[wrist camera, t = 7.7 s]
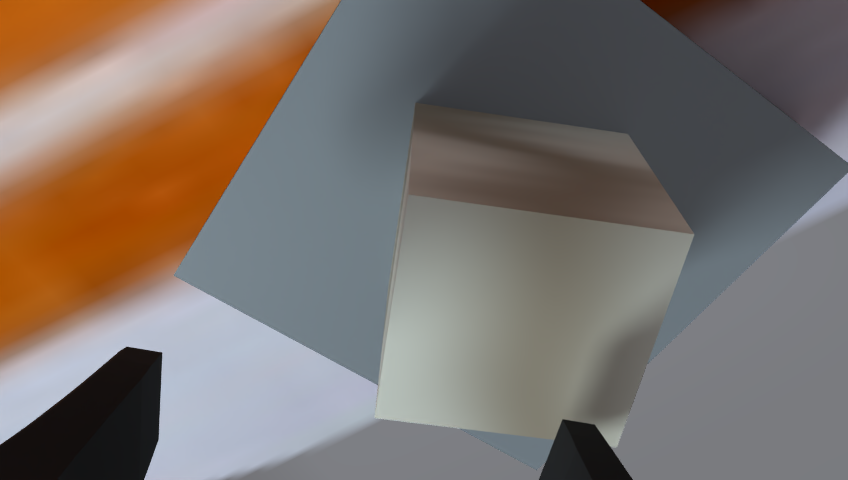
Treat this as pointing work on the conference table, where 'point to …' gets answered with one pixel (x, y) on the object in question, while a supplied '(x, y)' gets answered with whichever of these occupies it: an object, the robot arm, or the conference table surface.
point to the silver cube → (524, 276)
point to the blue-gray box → (502, 95)
